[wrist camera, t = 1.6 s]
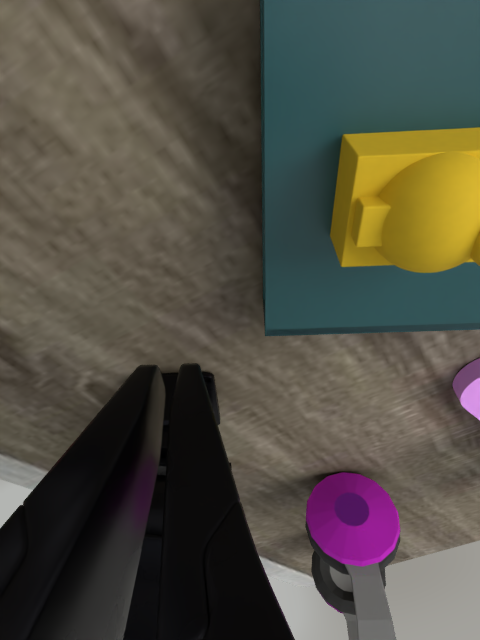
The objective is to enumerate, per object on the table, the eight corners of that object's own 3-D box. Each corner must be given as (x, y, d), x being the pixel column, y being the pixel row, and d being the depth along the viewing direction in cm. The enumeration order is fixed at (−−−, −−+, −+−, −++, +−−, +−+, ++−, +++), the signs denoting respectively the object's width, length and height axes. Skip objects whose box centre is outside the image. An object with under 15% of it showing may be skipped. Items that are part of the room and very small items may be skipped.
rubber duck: (329, 236, 17) (357, 315, 13) (342, 133, 14) (383, 193, 10) (491, 229, 17) (572, 308, 13) (537, 124, 14) (661, 181, 10)
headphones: (373, 537, 51) (428, 767, 36) (307, 540, 52) (335, 766, 37) (387, 461, 37) (486, 782, 22) (298, 468, 38) (335, 779, 23)
